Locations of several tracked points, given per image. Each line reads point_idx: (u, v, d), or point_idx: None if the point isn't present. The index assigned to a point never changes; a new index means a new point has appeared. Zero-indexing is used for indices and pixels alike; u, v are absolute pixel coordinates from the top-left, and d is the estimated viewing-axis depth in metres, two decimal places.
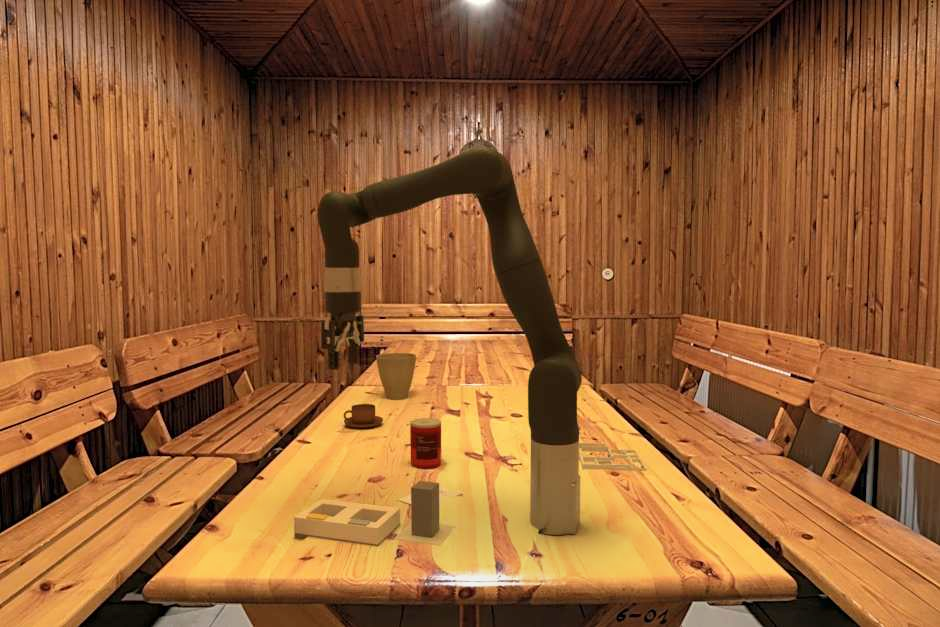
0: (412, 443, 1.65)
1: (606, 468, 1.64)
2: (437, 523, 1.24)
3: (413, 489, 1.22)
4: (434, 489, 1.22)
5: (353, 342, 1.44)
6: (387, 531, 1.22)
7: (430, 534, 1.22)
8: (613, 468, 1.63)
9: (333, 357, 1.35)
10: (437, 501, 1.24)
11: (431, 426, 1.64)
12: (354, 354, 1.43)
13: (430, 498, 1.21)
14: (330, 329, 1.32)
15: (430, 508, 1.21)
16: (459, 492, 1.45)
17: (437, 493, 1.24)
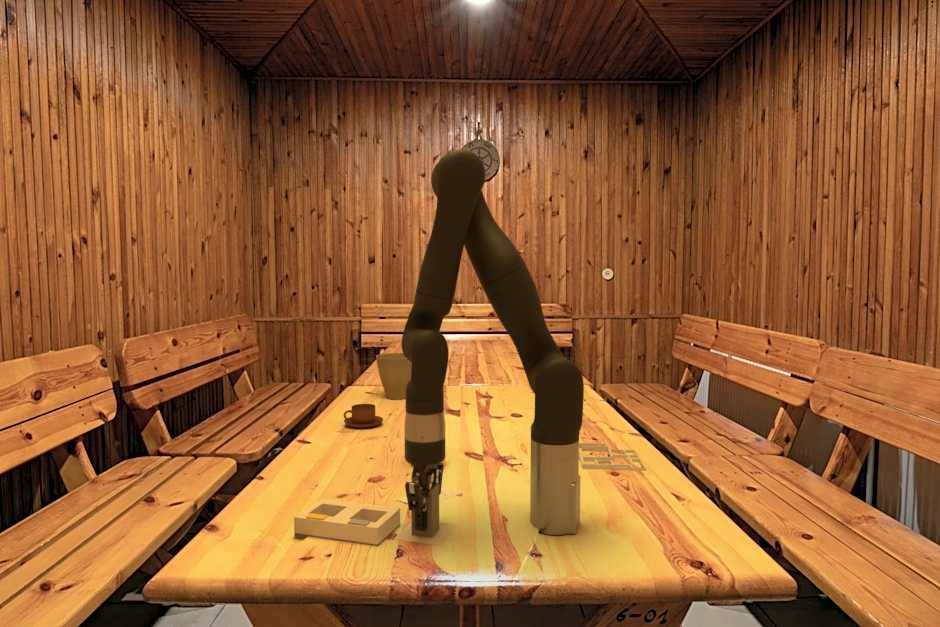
0: None
1: (606, 468, 1.64)
2: (437, 523, 1.24)
3: None
4: (434, 489, 1.22)
5: None
6: (387, 531, 1.22)
7: (430, 534, 1.22)
8: (613, 468, 1.63)
9: (421, 518, 1.21)
10: (437, 501, 1.24)
11: None
12: None
13: (430, 498, 1.21)
14: (416, 495, 1.17)
15: (430, 508, 1.21)
16: (458, 492, 1.45)
17: (437, 493, 1.24)
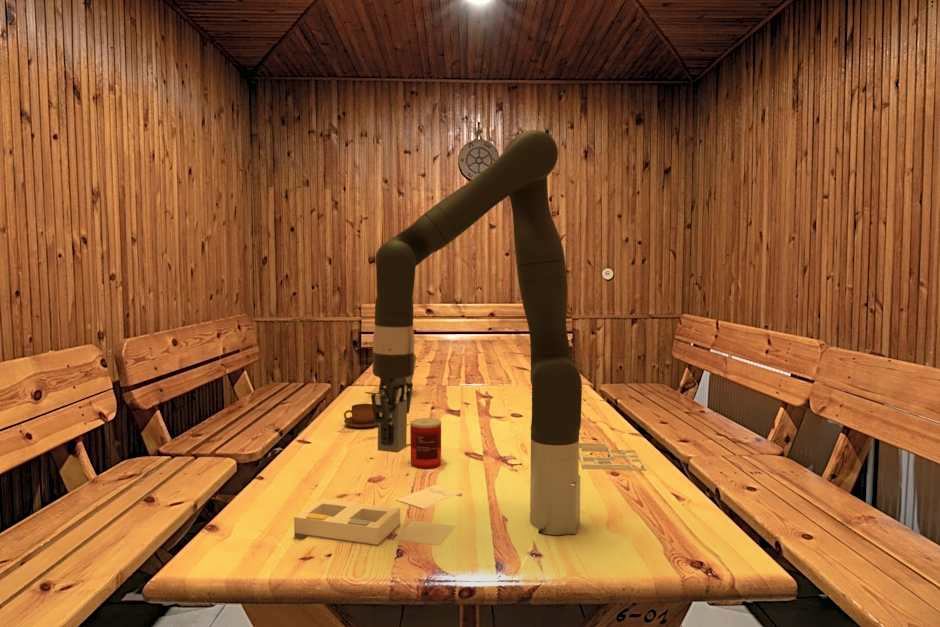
0: (412, 443, 1.65)
1: (606, 468, 1.64)
2: (404, 439, 1.24)
3: None
4: (401, 404, 1.22)
5: None
6: (387, 531, 1.22)
7: (396, 449, 1.21)
8: (613, 468, 1.63)
9: (387, 431, 1.20)
10: (404, 418, 1.23)
11: (431, 426, 1.64)
12: None
13: (397, 412, 1.21)
14: (382, 406, 1.17)
15: (397, 423, 1.21)
16: (458, 492, 1.45)
17: (404, 409, 1.23)
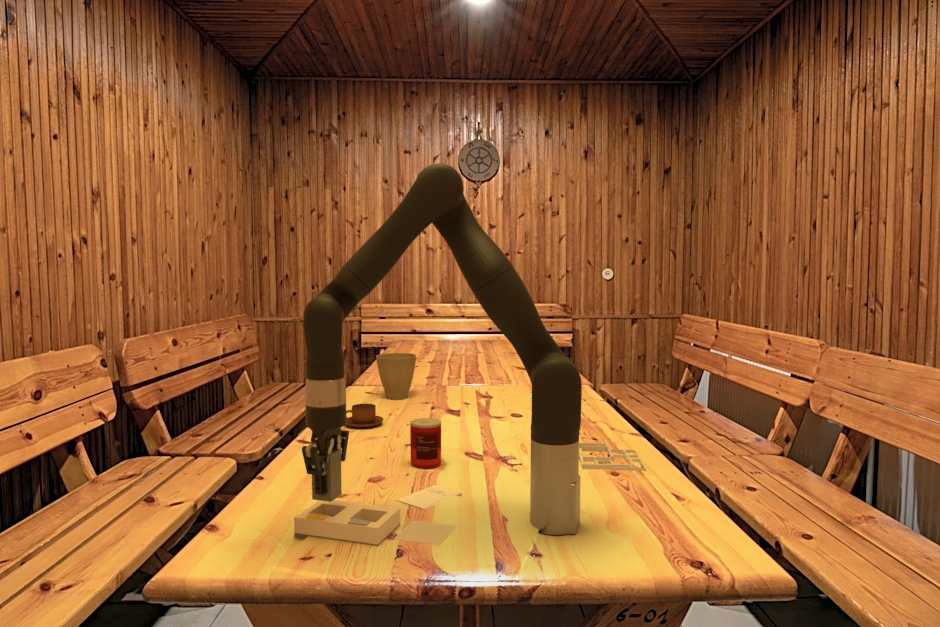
0: (412, 443, 1.65)
1: (606, 468, 1.64)
2: (338, 488, 1.27)
3: None
4: (334, 454, 1.25)
5: None
6: (387, 531, 1.22)
7: (329, 498, 1.24)
8: (613, 468, 1.63)
9: (320, 482, 1.23)
10: (338, 467, 1.26)
11: (431, 426, 1.64)
12: None
13: (329, 463, 1.24)
14: (313, 458, 1.20)
15: (329, 473, 1.24)
16: (458, 492, 1.45)
17: (338, 458, 1.26)
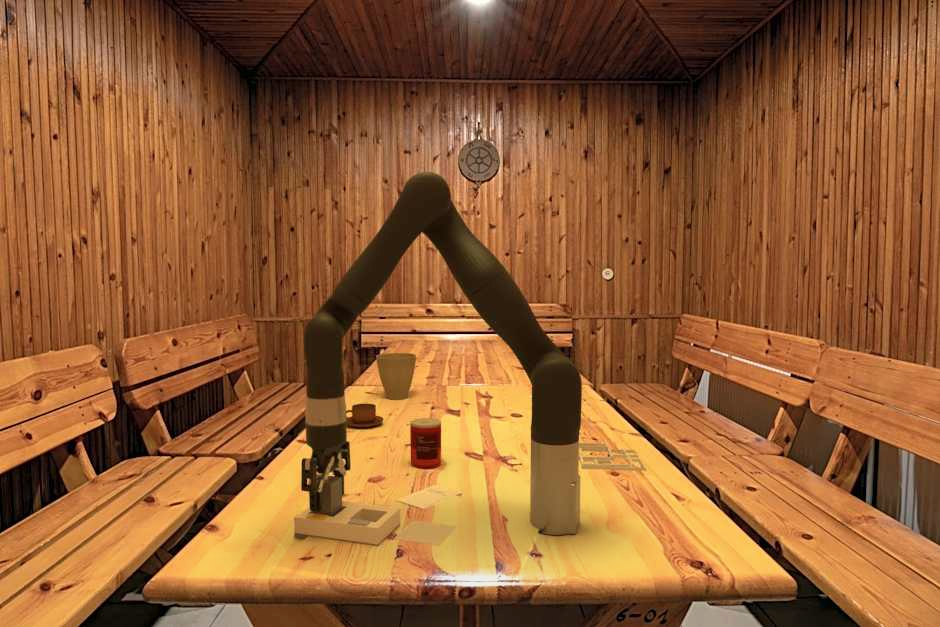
0: (412, 443, 1.65)
1: (606, 468, 1.64)
2: None
3: None
4: (335, 483, 1.25)
5: (338, 472, 1.30)
6: (387, 531, 1.22)
7: None
8: (613, 468, 1.63)
9: (315, 499, 1.21)
10: (338, 495, 1.27)
11: (431, 426, 1.64)
12: None
13: (329, 492, 1.24)
14: (311, 471, 1.19)
15: (330, 502, 1.24)
16: (458, 492, 1.45)
17: (338, 487, 1.27)
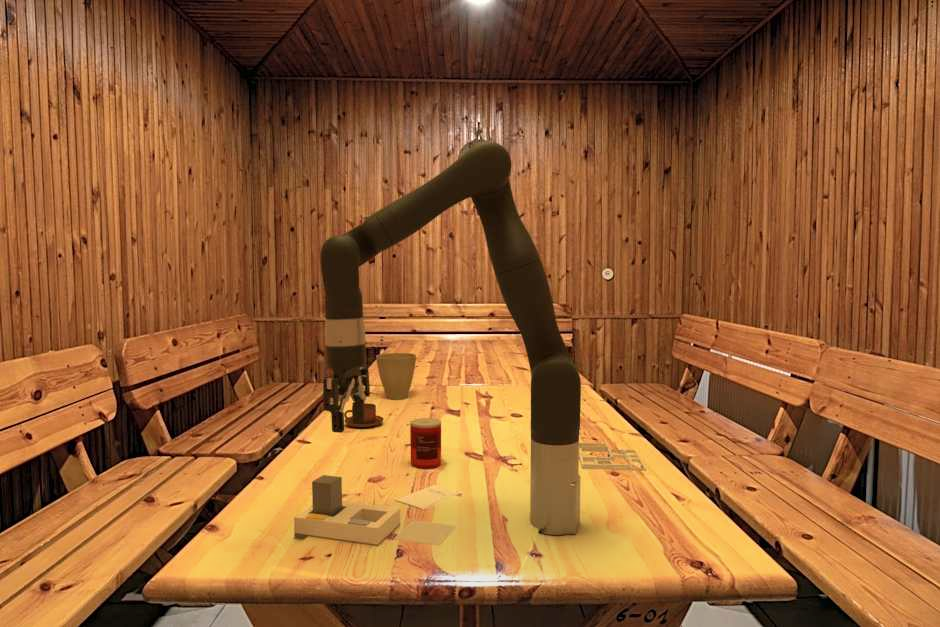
0: (412, 443, 1.65)
1: (605, 468, 1.64)
2: None
3: (314, 483, 1.25)
4: (335, 483, 1.25)
5: (358, 398, 1.30)
6: (387, 531, 1.22)
7: None
8: (612, 468, 1.63)
9: (337, 419, 1.21)
10: (338, 495, 1.27)
11: (431, 426, 1.64)
12: (359, 411, 1.30)
13: (329, 492, 1.24)
14: (333, 389, 1.19)
15: (330, 502, 1.24)
16: (457, 492, 1.45)
17: (338, 487, 1.27)
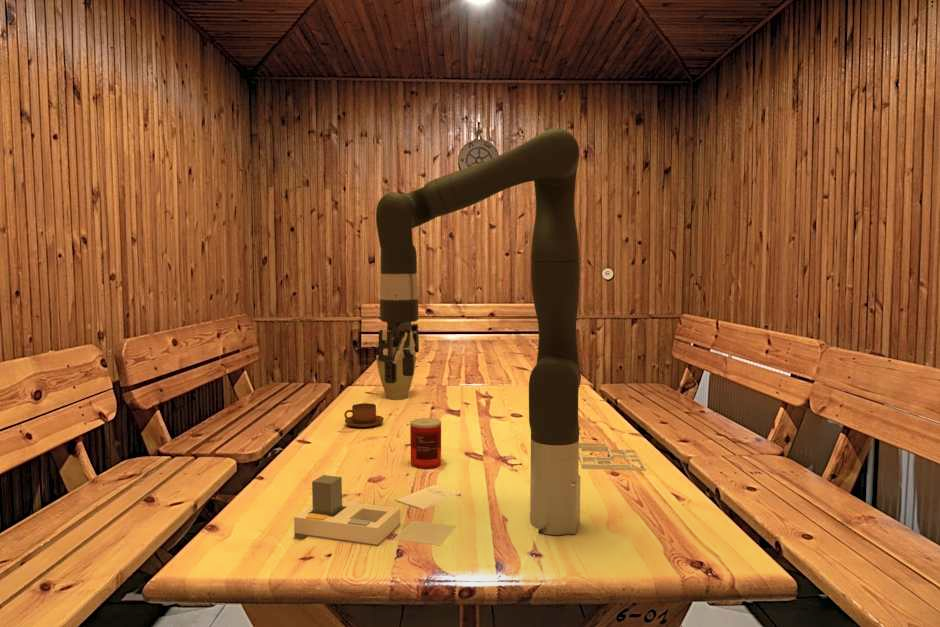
0: (412, 443, 1.65)
1: (605, 468, 1.64)
2: None
3: (314, 483, 1.25)
4: (335, 483, 1.25)
5: (408, 353, 1.35)
6: (387, 531, 1.22)
7: None
8: (612, 468, 1.64)
9: (390, 370, 1.26)
10: (338, 495, 1.27)
11: (431, 426, 1.64)
12: (409, 366, 1.34)
13: (329, 492, 1.24)
14: (388, 340, 1.24)
15: (330, 502, 1.24)
16: (457, 492, 1.45)
17: (338, 487, 1.27)
